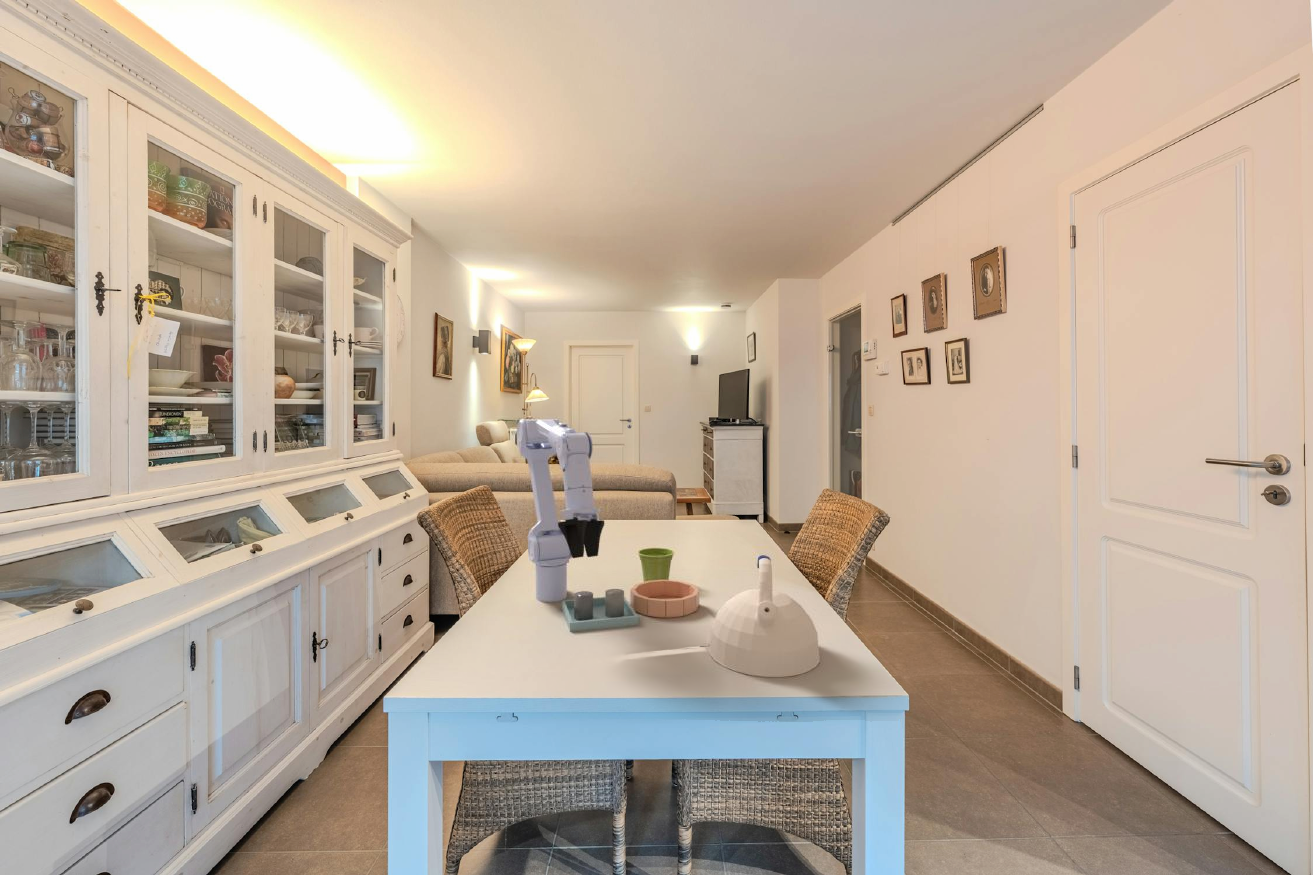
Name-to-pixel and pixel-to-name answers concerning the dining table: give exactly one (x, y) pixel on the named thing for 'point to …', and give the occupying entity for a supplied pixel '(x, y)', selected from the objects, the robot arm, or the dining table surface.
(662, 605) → the terracotta bowl
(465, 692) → the dining table surface
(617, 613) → the slate pebble
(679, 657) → the dining table surface
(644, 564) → the plant pot
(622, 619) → the parts tray
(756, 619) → the kettle
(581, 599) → the charcoal pebble
